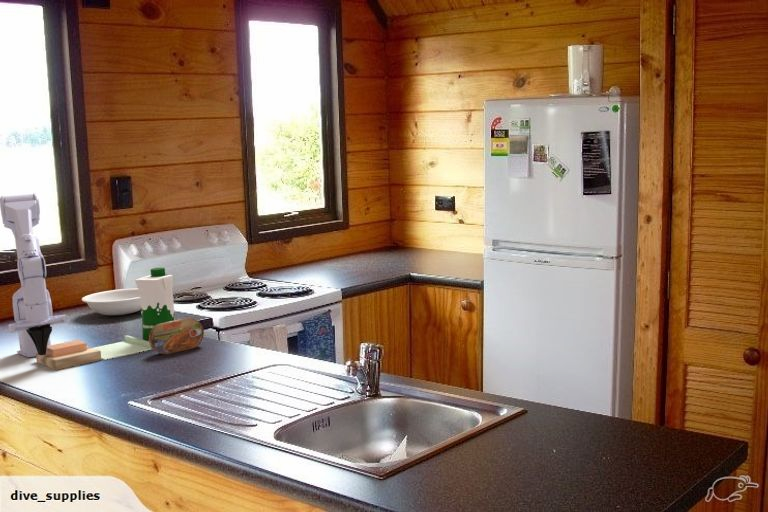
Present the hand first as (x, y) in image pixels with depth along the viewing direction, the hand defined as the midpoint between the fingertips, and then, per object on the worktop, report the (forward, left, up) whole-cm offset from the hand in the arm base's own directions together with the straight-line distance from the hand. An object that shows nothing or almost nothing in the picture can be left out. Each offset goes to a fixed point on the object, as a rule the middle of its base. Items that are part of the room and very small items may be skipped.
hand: (42, 354), depth 237 cm
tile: (0, +6, -1) cm, 6 cm away
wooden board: (0, +7, -3) cm, 8 cm away
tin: (+15, +31, -3) cm, 34 cm away
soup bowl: (-50, +45, -3) cm, 67 cm away
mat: (0, +20, -3) cm, 21 cm away
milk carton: (-3, +35, -3) cm, 35 cm away
